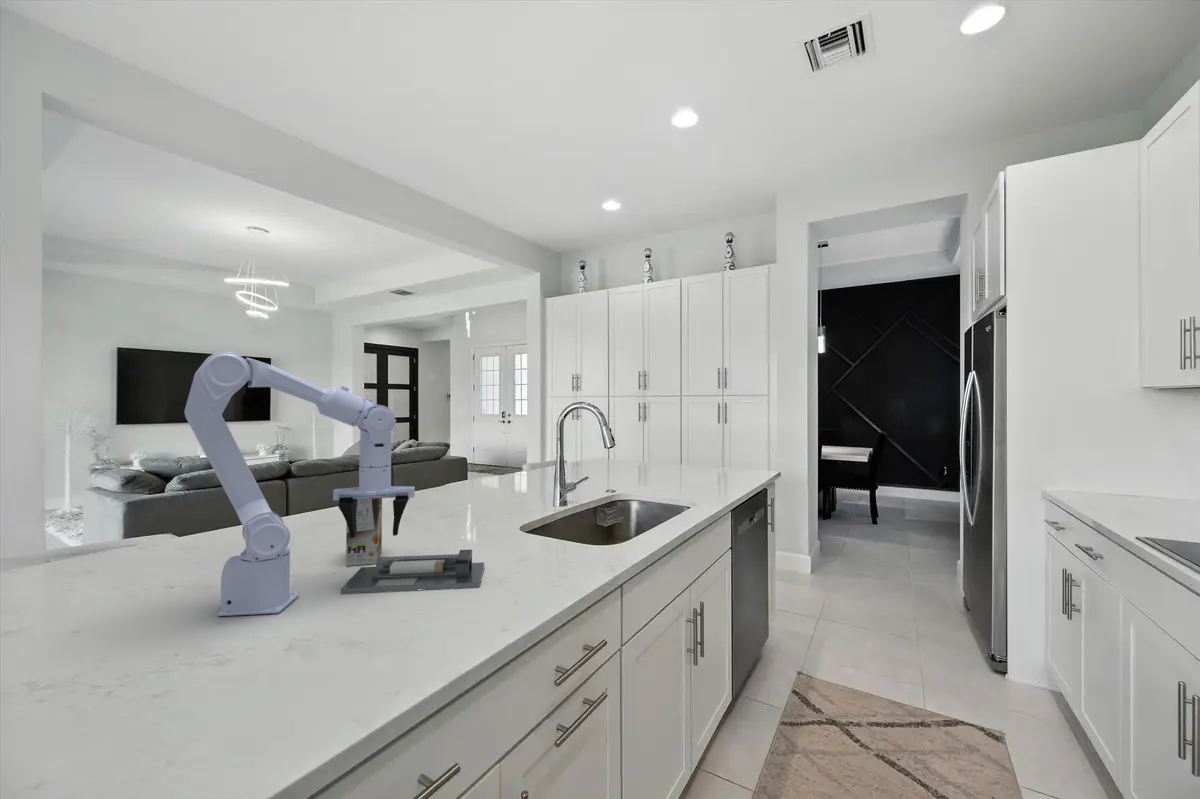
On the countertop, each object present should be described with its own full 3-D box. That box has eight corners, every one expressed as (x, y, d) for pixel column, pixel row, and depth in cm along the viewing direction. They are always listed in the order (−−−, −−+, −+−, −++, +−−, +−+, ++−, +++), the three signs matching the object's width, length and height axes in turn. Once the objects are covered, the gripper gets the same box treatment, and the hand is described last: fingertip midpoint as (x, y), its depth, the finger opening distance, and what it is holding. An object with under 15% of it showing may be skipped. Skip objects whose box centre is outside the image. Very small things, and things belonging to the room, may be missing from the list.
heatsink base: (340, 593, 94) (340, 569, 94) (361, 572, 106) (361, 549, 106) (479, 587, 98) (479, 563, 98) (484, 567, 110) (484, 545, 110)
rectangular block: (389, 577, 100) (389, 566, 100) (393, 572, 102) (393, 561, 102) (442, 575, 101) (442, 564, 101) (444, 570, 104) (445, 559, 104)
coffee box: (377, 564, 111) (378, 490, 111) (345, 566, 109) (345, 492, 109) (382, 552, 120) (382, 483, 120) (352, 554, 118) (352, 485, 118)
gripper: (328, 469, 94) (328, 543, 94) (412, 467, 97) (411, 538, 97) (338, 464, 101) (338, 533, 101) (416, 463, 104) (415, 529, 104)
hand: (374, 535), depth 99 cm, fingers open, 7 cm apart
